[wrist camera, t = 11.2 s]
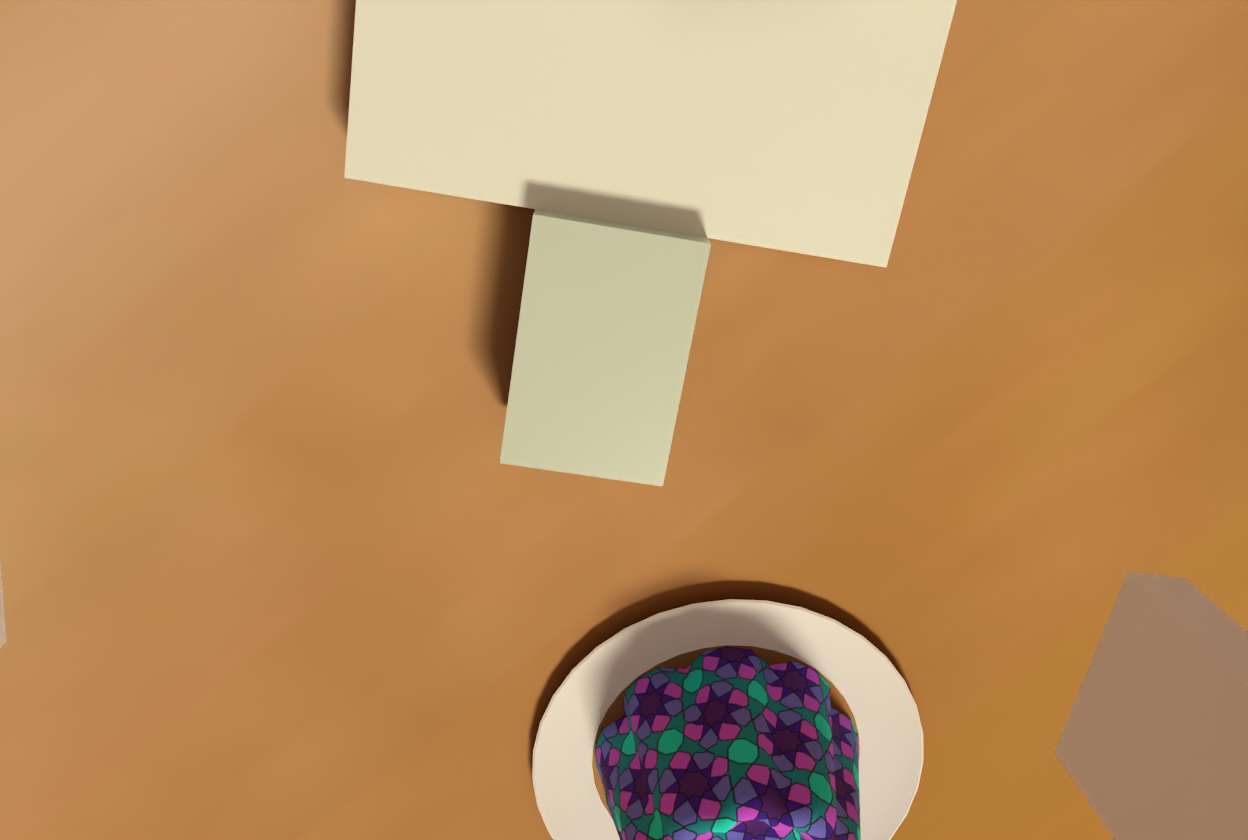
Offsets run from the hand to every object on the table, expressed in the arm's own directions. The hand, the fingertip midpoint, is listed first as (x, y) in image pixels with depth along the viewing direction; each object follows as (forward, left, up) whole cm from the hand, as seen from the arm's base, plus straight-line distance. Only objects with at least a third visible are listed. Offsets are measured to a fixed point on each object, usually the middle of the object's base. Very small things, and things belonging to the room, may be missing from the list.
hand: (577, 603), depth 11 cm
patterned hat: (+6, -13, -15) cm, 21 cm away
